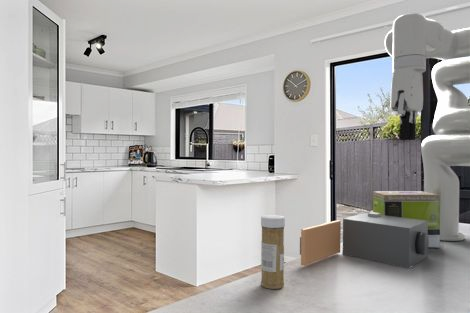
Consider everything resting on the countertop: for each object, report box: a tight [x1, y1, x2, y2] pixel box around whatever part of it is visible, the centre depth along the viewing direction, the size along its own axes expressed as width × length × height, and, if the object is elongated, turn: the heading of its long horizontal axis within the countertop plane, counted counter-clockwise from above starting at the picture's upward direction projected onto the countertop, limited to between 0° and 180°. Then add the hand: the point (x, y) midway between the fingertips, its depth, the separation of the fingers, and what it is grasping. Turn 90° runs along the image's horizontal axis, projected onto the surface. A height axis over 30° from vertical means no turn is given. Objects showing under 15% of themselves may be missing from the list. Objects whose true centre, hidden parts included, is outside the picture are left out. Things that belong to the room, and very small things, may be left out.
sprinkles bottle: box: [260, 214, 286, 290], centre depth 70 cm, size 5×5×14 cm
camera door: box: [299, 219, 342, 267], centre depth 87 cm, size 2×16×8 cm, turn 135°
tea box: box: [372, 190, 441, 249], centre depth 103 cm, size 15×10×15 cm
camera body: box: [342, 211, 429, 269], centre depth 91 cm, size 13×17×10 cm
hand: (407, 139), depth 91 cm, fingers closed
